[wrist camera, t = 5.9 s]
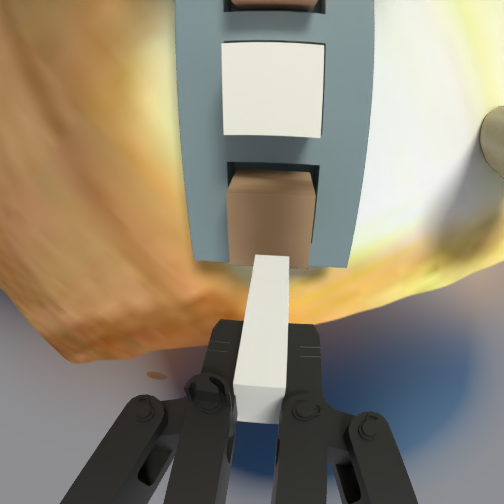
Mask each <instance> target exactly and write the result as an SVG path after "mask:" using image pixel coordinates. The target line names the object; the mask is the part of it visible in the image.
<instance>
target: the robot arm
mask: <svg viewBox="0 0 504 504" xmlns="http://www.w3.org/2000/svg"><path fill="white" fill-rule="evenodd" d="M288 310H289V256H272V255H255V260H254V266H253V272H252V277H251V283H250V289H249V295H248V301H247V306H246V312H245V318H244V321H235V320H224V319H221V320H220V321H219V322H218V323H217V324H216V325H215V327H214V328H213V330H212V334H211V337H210V342H209V345H208V350H207V352H206V356H205V360H204V364H203V368H202V371H201V372H202V373H201V374H198V375H195V376H193V377H192V378H191V379H190V380H188V382H187V383H186V385H185V387H184V389H185V392H186V394H187V396H186V397H184V398H180V399H175V400H167V401H160V400H158V399H157V398H155V397H154V396H151V395H139V396H136V397H134V398H132V399H131V400H130V402H128V403H127V405H126V406H125V408H124V409H123V410H122V412H121V414H120V415H119V416H118V418H117V419H116V421H115V422H114V424H113V425H112V427H111V428H110V429H109V431H108V432H107V434H106V435H105V437H104V438H103V440H102V441H101V443H100V444H99V446H98V447H97V449H96V450H95V452H94V453H93V454H92V456H91V458H90V459H89V460H88V462H87V464H86V465H85V467H84V468H83V470H82V471H81V472H80V474H79V476H78V477H77V478H76V480H75V481H74V483H73V484H72V486H71V487H70V489H69V490H68V492H67V493H66V495H65V496H64V498H63V500H62V501H61V503H60V504H147V503H148V502H149V500H150V498H151V497H152V495H153V493H154V491H155V490H156V488H157V486H158V485H159V483H160V481H161V479H162V478H163V476H164V474H165V472H166V471H167V469H168V467H169V465H170V464H171V462H172V460H173V458H174V456H175V458H174V462H173V466H172V470H171V474H170V478H169V482H168V486H167V491H166V495H165V499H164V503H163V504H225V501H226V495H227V489H228V482H229V476H230V470H231V463H232V457H233V450H234V444H235V437H236V433H235V428H236V421H245V422H256V423H270V424H279V430H278V437H277V442H276V458H275V469H274V480H273V490H272V500H271V504H326V494H327V462H330V463H331V465H332V468H333V472H334V475H335V479H336V482H337V486H338V490H339V493H340V497H341V500H342V504H418V502H417V499H416V496H415V493H414V490H413V487H412V485H411V482H410V479H409V476H408V474H407V471H406V468H405V466H404V463H403V460H402V457H401V455H400V452H399V450H398V447H397V445H396V442H395V439H394V437H393V434H392V432H391V429H390V427H389V424H388V423H387V421H386V420H385V418H384V417H382V416H381V415H380V414H378V413H374V412H371V411H370V412H362V413H361V414H358V415H356V416H355V415H351V414H347V413H344V412H340V411H338V410H335V409H334V408H332V407H331V406H329V404H328V403H327V402H326V401H325V399H324V397H323V393H322V373H321V358H320V356H321V354H320V338H319V334H318V332H317V330H316V328H315V327H314V325H313V324H292V323H288Z"/></svg>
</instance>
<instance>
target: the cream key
mask: <svg viewBox="0 0 504 504" xmlns="http://www.w3.org/2000/svg"><path fill="white" fill-rule="evenodd" d="M221 47H222V96H223V129H224V135H272V136H295V137H311V138H320V137H321V121H322V101H323V74H324V45H315V44H302V43H281V42H241V43H221Z"/></svg>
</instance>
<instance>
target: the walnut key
mask: <svg viewBox="0 0 504 504" xmlns="http://www.w3.org/2000/svg"><path fill="white" fill-rule="evenodd" d="M315 199H316V195H315V191H314V187H313V183H312V179H311V175H310V172H295V171H274V170H236V172H235V174H234V176H233V178H232V181H231V183H230V185H229V187H228V189H227V192H226V202H227V222H228V241H229V258H230V265H243V266H254V260H255V255H272V256H289V268H303V269H308V262H309V254H310V246H311V237H312V228H313V219H314V209H315Z"/></svg>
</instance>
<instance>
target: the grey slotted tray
mask: <svg viewBox="0 0 504 504" xmlns="http://www.w3.org/2000/svg"><path fill="white" fill-rule="evenodd" d="M175 36H176V70H177V92H178V109H179V124H180V137H181V149H182V161H183V171H184V181H185V191H186V200H187V209H188V217H189V226H190V234H191V241H192V249H193V256H194V260H199V261H217V262H230V258H229V241H228V222H227V202H226V192H227V189H228V187H229V185H230V183H231V181H232V178H233V176H234V174H235V172H236V170H274V171H295V172H310V175H311V179H312V183H313V187H314V191H315V195H316V199H315V209H314V219H313V228H312V237H311V246H310V254H309V262H308V266H316V267H338V268H347V265H348V260H349V255H350V250H351V246H352V241H353V235H354V230H355V225H356V219H357V213H358V208H359V202H360V195H361V189H362V182H363V176H364V168H365V161H366V153H367V144H368V135H369V126H370V115H371V103H372V88H373V70H374V0H318V1H317V3H316V5H315V7H314V9H313V11H304V10H286V9H243V10H238V9H237V8H236V6H235V5H234V4H233V2H232V1H231V0H175ZM241 42H281V43H302V44H315V45H324V74H323V101H322V121H321V137H320V138H311V137H295V136H272V135H224V129H223V96H222V47H221V43H241Z"/></svg>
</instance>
